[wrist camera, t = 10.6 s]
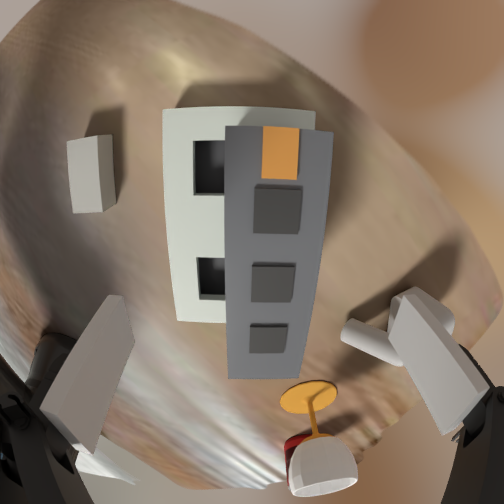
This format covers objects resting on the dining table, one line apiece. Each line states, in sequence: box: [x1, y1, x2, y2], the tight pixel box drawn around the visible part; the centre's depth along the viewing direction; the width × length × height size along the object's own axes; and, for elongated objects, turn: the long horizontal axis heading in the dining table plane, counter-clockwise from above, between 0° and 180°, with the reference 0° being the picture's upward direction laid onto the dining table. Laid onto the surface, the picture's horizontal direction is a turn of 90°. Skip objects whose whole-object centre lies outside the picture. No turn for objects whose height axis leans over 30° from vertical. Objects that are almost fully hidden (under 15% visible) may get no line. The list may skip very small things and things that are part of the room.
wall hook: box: [341, 287, 455, 366], centre depth 27 cm, size 8×10×10 cm
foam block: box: [67, 134, 116, 213], centre depth 22 cm, size 4×7×3 cm, turn 178°
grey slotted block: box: [224, 126, 334, 379], centre depth 20 cm, size 5×16×12 cm, turn 178°
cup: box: [280, 381, 358, 497], centre depth 30 cm, size 9×9×16 cm
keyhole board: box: [163, 106, 316, 323], centre depth 24 cm, size 12×20×3 cm, turn 178°
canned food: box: [284, 434, 312, 491], centre depth 39 cm, size 8×8×11 cm
